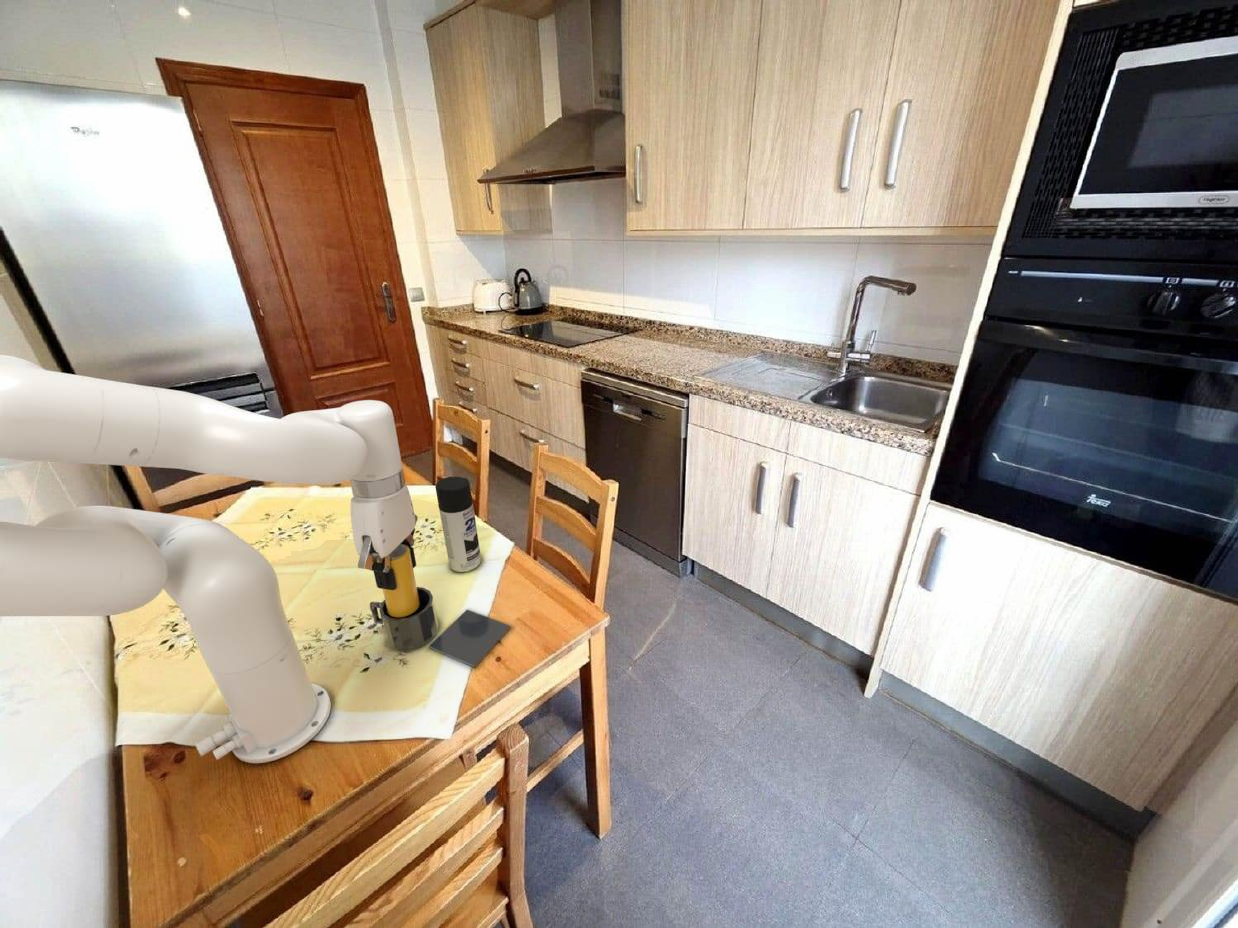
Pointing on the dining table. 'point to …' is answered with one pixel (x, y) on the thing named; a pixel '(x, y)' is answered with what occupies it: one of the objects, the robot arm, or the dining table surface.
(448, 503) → the spray can
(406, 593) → the can
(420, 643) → the mug
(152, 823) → the dining table surface
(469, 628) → the coaster
